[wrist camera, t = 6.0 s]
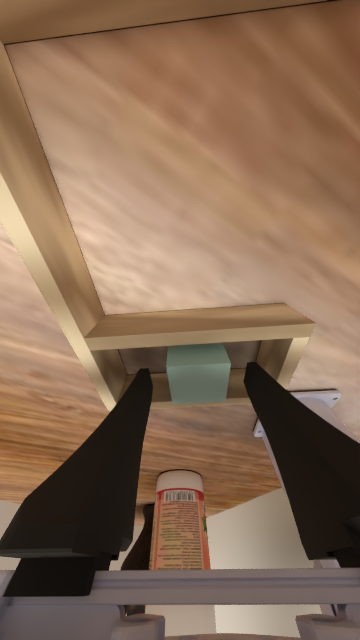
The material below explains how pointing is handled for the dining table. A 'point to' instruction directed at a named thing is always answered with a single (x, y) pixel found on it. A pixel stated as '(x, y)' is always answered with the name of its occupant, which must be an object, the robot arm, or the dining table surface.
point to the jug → (140, 555)
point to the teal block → (198, 373)
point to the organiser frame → (59, 239)
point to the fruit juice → (181, 547)
